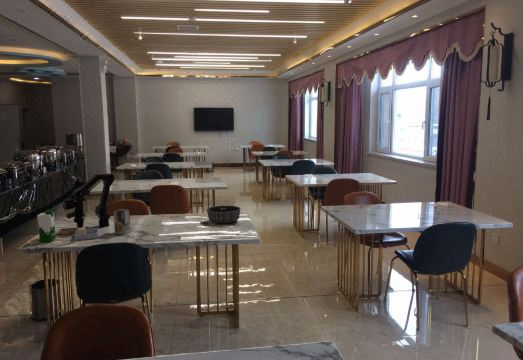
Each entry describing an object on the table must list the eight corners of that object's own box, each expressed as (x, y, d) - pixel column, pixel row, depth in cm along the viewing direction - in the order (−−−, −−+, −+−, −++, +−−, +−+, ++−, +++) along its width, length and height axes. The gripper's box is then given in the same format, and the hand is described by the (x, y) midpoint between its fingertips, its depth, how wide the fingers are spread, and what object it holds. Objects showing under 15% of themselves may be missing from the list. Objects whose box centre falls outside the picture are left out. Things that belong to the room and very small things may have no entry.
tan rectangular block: (86, 235, 297) (85, 227, 296) (85, 237, 293) (85, 229, 292) (79, 235, 295) (78, 227, 295) (78, 237, 291) (77, 229, 290)
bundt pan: (204, 218, 345) (204, 205, 344) (237, 216, 351) (237, 204, 350) (208, 226, 320) (208, 213, 319) (243, 224, 326) (243, 211, 325)
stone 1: (84, 229, 311) (83, 222, 310) (83, 231, 307) (83, 223, 306) (77, 230, 310) (76, 222, 309) (76, 231, 306) (76, 224, 305)
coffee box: (131, 231, 306) (130, 209, 304) (125, 234, 300) (124, 211, 298) (120, 230, 309) (119, 208, 307) (114, 233, 303) (113, 210, 301)
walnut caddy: (88, 228, 317) (88, 226, 317) (87, 233, 303) (87, 231, 303) (60, 230, 311) (60, 228, 311) (57, 235, 297) (57, 234, 297)
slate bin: (99, 233, 304) (98, 228, 303) (97, 238, 290) (97, 233, 290) (77, 234, 300) (76, 229, 299) (74, 240, 286) (74, 235, 286)
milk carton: (52, 242, 282) (49, 212, 279) (37, 242, 281) (35, 212, 278) (57, 238, 291) (55, 209, 288) (43, 239, 290) (40, 209, 287)
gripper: (68, 205, 312) (69, 227, 315) (64, 211, 295) (66, 233, 297) (84, 204, 316) (86, 225, 318) (82, 210, 298) (84, 232, 300)
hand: (80, 229), depth 308 cm, fingers closed on stone 1, 4 cm apart
